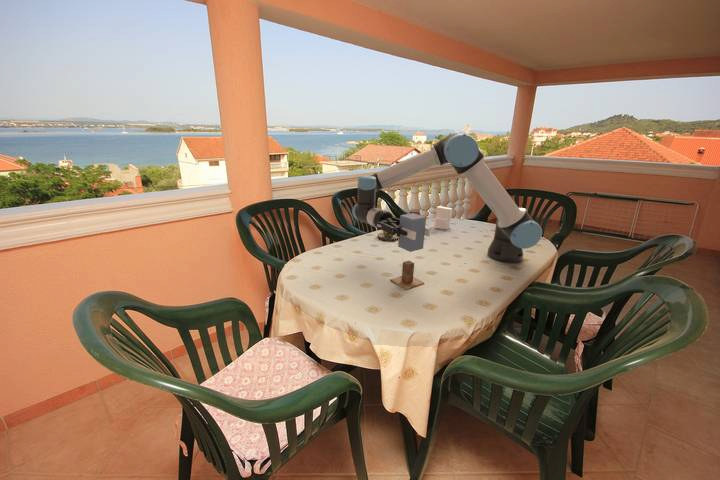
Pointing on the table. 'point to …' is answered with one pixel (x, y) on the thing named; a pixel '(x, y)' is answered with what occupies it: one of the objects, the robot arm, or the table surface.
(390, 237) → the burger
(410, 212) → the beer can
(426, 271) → the table surface
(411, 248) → the notched grey prism
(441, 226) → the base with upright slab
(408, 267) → the post
